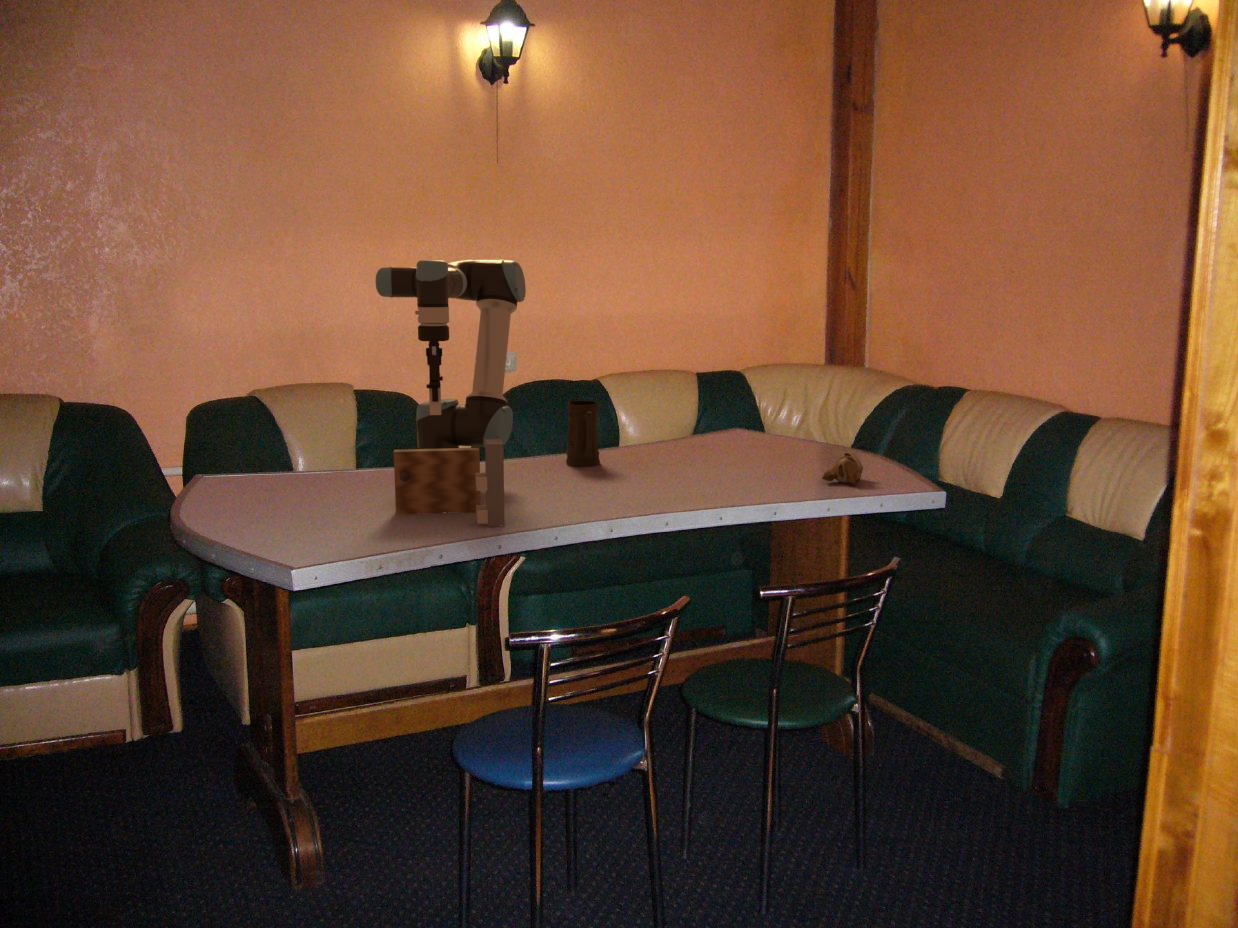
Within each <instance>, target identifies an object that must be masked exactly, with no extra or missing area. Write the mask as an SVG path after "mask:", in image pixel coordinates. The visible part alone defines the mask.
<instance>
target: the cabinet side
mask: <svg viewBox="0 0 1238 928" xmlns="http://www.w3.org/2000/svg"><path fill="white" fill-rule="evenodd" d="M484 454H485V455H484V456H485V457H484V458H485V461H484V462H485V465H484V466H485V472H480V473H475V475H476V490H477V491H480V492H481V491H483V492H485V504H481V505H476V512H475V514H476V515H475V517H476V524H477V525H478V524H487V527H488V526H492V527H501V526H500V525H505V473H504V471H505V470H504V469H505V468H504V467H505V466H504V459H505V458H504V445H503V441H502V439H485V447H484ZM505 526H506V525H505Z"/></svg>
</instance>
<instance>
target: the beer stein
mask: <svg viewBox="0 0 1238 928" xmlns="http://www.w3.org/2000/svg"><path fill="white" fill-rule="evenodd" d="M599 406H600V405H599V402H597V401H594V400H583V399H582V400H571V401H569V402H568V403H567V406H566V407H567V408H566V409H567V410H566V411H567V412H568V414H567V415H568V418H567V419H568V421H567V423H568V424H567V425H568V426H567V448H566V461H565V464H566V465H568V466H570V467H579V468H583V467H585V468H586V467H594V466H595V467H596V466H599V464H600V463H601V461H600V451H599V442H598V441H599V438H598V437H599V434H598V433H599V432H598V412H599V410H600V407H599Z"/></svg>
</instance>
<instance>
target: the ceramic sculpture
mask: <svg viewBox="0 0 1238 928" xmlns="http://www.w3.org/2000/svg"><path fill="white" fill-rule="evenodd" d="M863 471H864V466H863V464H862V462H861V460H860V458H859V457H857V456H856V454H855V453H854V452H852V453H851V454H850V453H847V452H846V453H844V454H842V455H841V457H840V458H838V459H837V460H835V462H834V464H833V465H832V468H830V469H826V471H825V472H824V473H823V475H822V477H821V479H822V480H825V481H827V482H832V481H833V480H835V481H837V482H839V483H841V484H848V483H851V484H858V483H859V481H860V480H861V478H862V474H863Z"/></svg>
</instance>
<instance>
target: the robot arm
mask: <svg viewBox="0 0 1238 928" xmlns="http://www.w3.org/2000/svg"><path fill="white" fill-rule="evenodd" d="M375 289H376V292H377V293H378V295H379V296H381V297H384V298H391V299H392V298H416V300H417V301H416V302H417V303H416V304H417V310H415V311H414V314H415V315H417V322H418V324H419V325H418V326H417V339H418V341H419V342H420V341H421V342H428V347H426V348H425V356H426V363H427V366H428V368H429V371H428V373H429V378H428V379H429V382H428V384H427V383H426V389H429V390H428V394H429V396H428V397H429V401H425V402H424V401H423V402H422V403H420V404H418V405H417V408H416V418H415V421H416V440H417V441H416V443H417V449H447V448H460V447H473V448H485V439H502V441H503V446H505V444H506V443H507V442H508V441H509V439H510V435H511V433H512V429H513V422H514V418H513V416H514V414H513V413H514V412H513V409H512V408H511V407H510V406H509V405H508V400H507V399H506V398H505V396H504V388H505V387H504V386H505V376H506V364H507V356H508V354H507V353H508V346H509V338H510V337H509V336H510V335H509V334H510V326H511V316H512V314H514V312H516V311H517V309H518V303H521V302H523V301H524V300H525V298H526V290H527V289H526V279H525V274H524V271H523V268H522V266H521V265H520V263H518V262H517V261H516V260H507V259H505V258H503V259H465V260H462V259H461V260H457V261H452V262H447V261H446V260H442V259H441V260H439V259H438V260H437V259H436V260H435V259H431V260H430V259H429V260H428V259H425V260H424V259H420V260H418V261H417V262H416V266H415V267H414V266H408V267H407V266H406V267H405V266H403V267H401V266H399V267H398V266H397V267H392V266H389V267H388V266H387V267H380V268H379V269H378V270H377V272H376V275H375ZM449 299H456V300H462V301H463V300H464V301H473V302H474V301H475V303H476V304H475V305H476V307H477V308H478V309H479V310H480V314H479V315H480V316H479V323H478V324H479V325H478V334H477V343H476V354H475V363H474V373H473V380H472V381H473V382H472V391H471V393H470V394H468V395H467V396H466V397H465V404H460V402H459V400H458V399H457V398H443V399H442V394H441V392H442V391H441V389H442V388H441V381H444V376H441V373H440V367H441V365H442V356H443V347H440V342H448V341H449V339H450V326H449V325H448V324H449V323H450V312H449V311H450V307H449Z"/></svg>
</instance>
